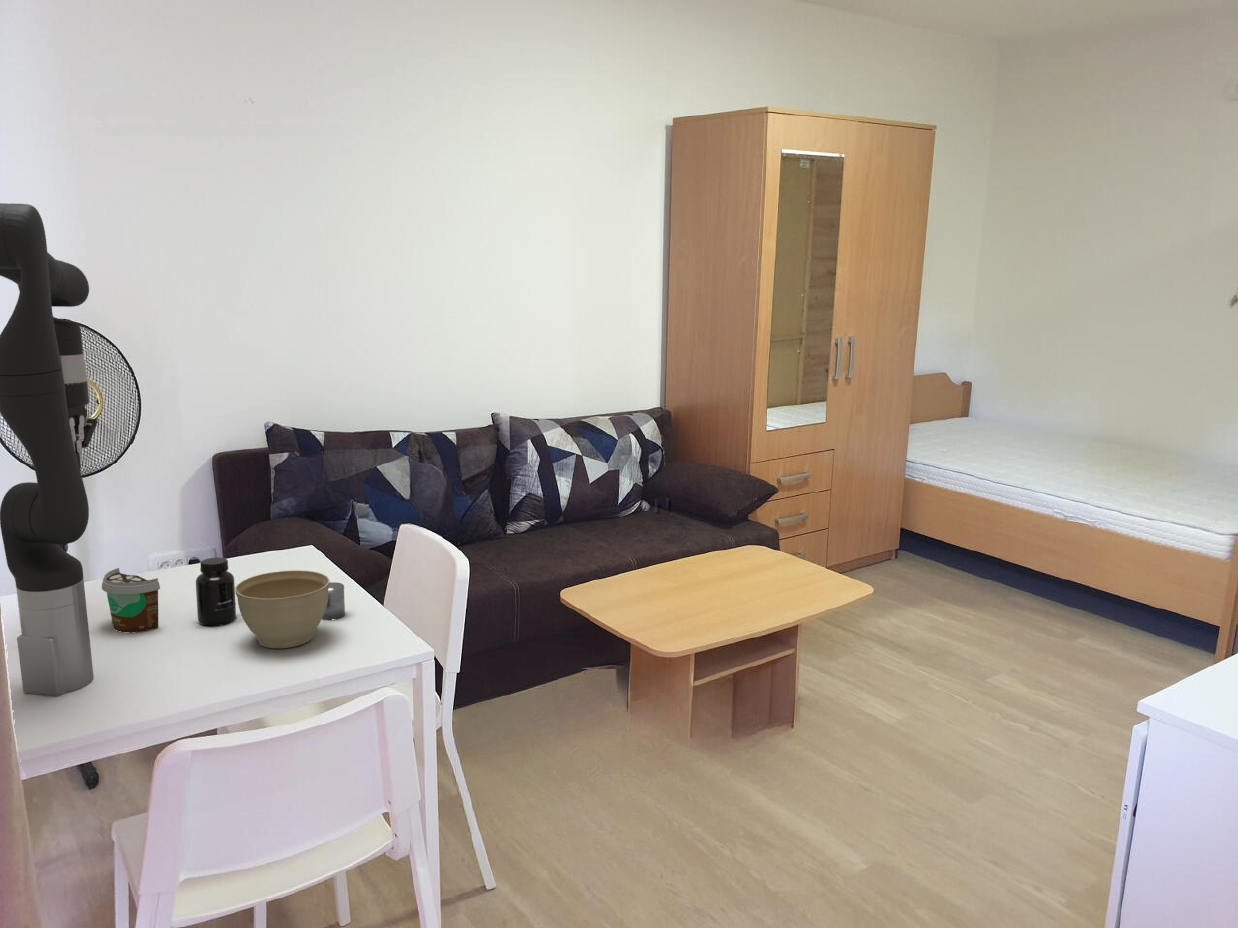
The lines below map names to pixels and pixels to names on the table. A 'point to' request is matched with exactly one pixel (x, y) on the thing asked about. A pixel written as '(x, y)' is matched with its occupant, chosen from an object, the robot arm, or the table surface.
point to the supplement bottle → (215, 593)
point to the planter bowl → (283, 606)
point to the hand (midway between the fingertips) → (72, 473)
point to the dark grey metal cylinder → (335, 602)
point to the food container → (131, 601)
